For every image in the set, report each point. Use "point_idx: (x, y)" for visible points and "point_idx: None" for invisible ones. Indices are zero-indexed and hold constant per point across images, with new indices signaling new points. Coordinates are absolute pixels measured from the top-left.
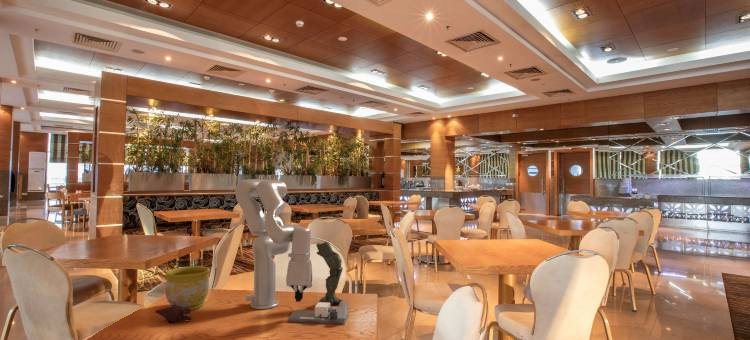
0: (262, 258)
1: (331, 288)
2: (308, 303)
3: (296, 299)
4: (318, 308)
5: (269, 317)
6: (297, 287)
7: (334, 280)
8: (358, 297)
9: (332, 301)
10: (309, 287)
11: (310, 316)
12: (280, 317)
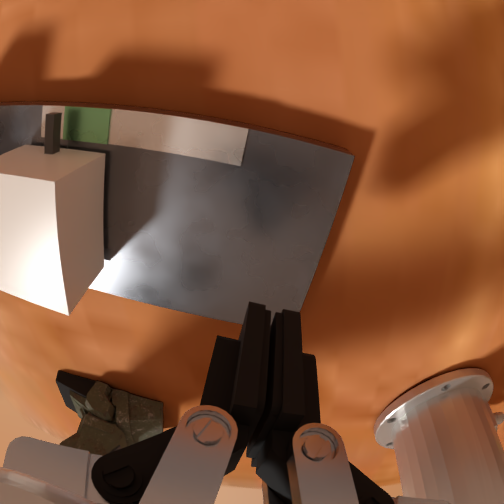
0: None
1: None
2: None
3: (290, 327)
4: (35, 171)
5: (461, 261)
6: (280, 499)
7: None
8: (45, 416)
9: (87, 396)
10: (43, 447)
11: (147, 176)
12: (399, 253)
